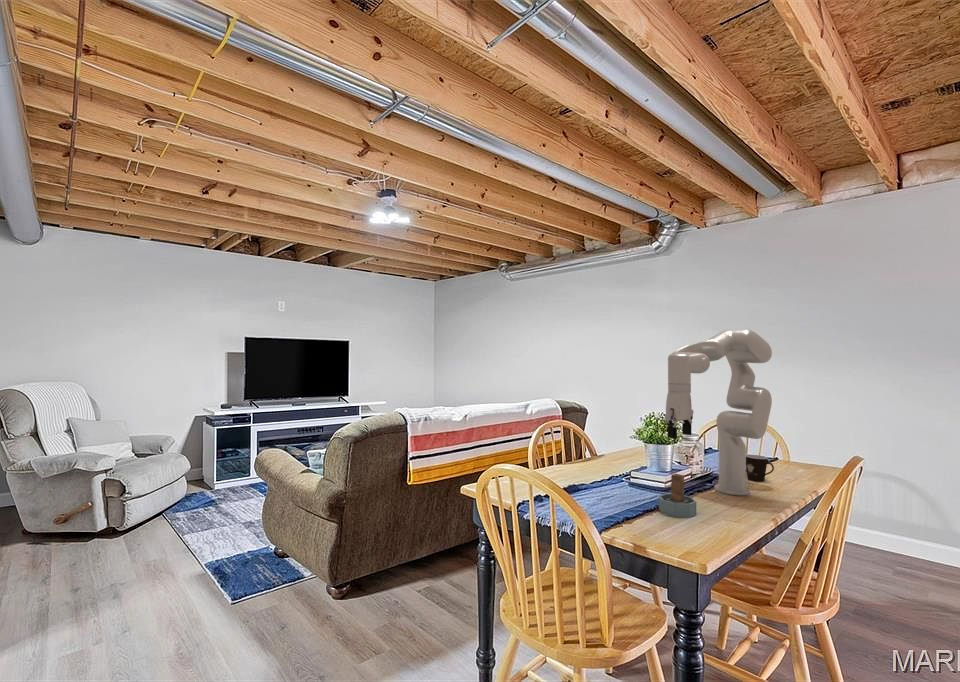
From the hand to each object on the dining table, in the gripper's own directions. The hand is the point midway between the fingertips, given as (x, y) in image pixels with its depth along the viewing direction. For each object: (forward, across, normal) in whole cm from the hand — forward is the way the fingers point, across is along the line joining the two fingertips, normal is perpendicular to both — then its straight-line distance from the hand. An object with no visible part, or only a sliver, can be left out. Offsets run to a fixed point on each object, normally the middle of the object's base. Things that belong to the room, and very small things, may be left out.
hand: (679, 436), depth 173 cm
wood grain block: (+24, +7, +3) cm, 25 cm away
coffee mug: (+27, -59, +2) cm, 65 cm away
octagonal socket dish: (+25, +7, +3) cm, 26 cm away
